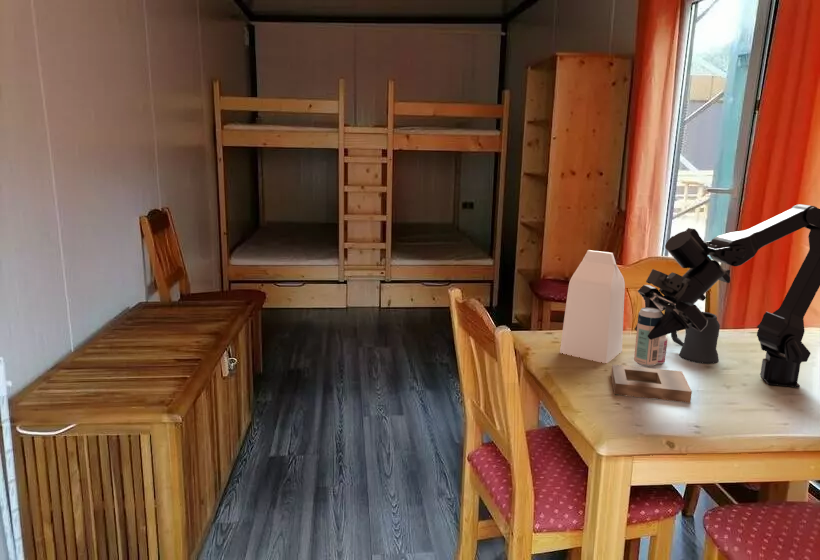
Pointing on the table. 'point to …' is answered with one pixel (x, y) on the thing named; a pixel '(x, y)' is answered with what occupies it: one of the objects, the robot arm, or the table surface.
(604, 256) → the milk
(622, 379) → the socket board
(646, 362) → the beer can
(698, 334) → the mug
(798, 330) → the robot arm
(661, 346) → the pill bottle
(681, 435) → the table surface
